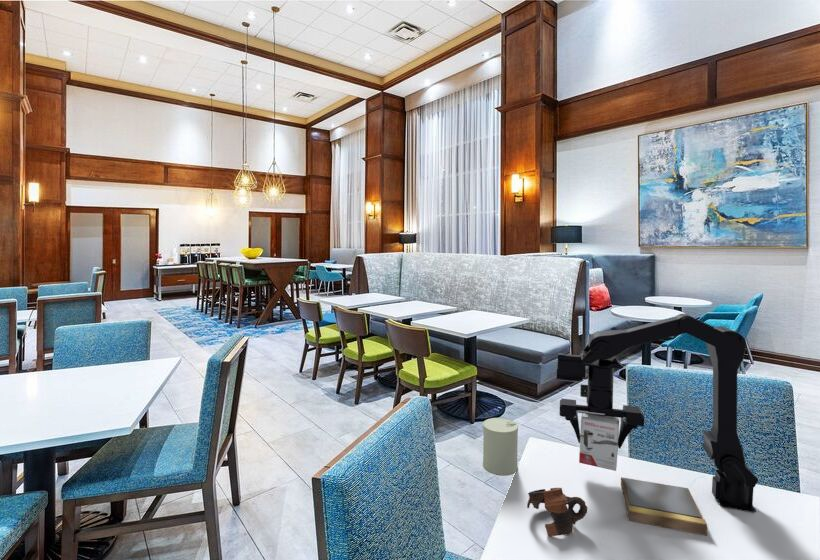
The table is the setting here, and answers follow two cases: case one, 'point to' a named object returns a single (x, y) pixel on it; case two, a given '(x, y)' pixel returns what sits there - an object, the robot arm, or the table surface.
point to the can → (500, 446)
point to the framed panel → (662, 506)
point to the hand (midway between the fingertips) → (598, 444)
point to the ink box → (599, 441)
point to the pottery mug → (558, 509)
